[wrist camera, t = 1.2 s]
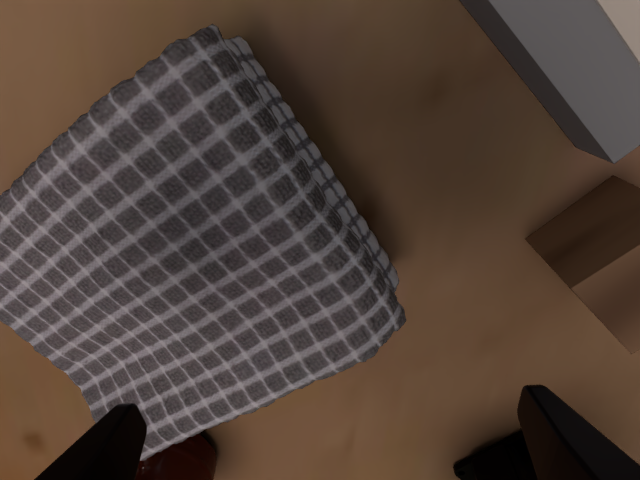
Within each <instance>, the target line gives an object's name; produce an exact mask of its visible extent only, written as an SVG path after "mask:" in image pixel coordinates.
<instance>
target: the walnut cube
mask: <svg viewBox="0 0 640 480" xmlns="http://www.w3.org/2000/svg"><path fill="white" fill-rule="evenodd" d="M525 240H526V241H527V242H528V243H529V244H530V245H531V246H532V247H533V248H534V249H535V251H536V252H537V253H538V254H539V255H540V256H541V257H542V258H543V259H544V260H545V261H546V263H547V264H548V265H549V266H550V267H551V268H552V269H553V270H554V271H555V272H556V273H557V274H558V276H559V277H560V278H561V279H562V280H563V281H564V282H565V283H566V284H567V285H568V286H569V288H570V289H571V290H572V291H573V292H574V293H575V294H576V295H577V296H578V297H579V298H580V299H581V301H582V302H583V303H584V304H585V305H586V306H587V307H588V308H589V309H590V310H591V311H592V312H593V313H594V315H595V316H596V317H597V318H598V319H599V320H600V321H601V322H602V323H603V324H604V325H605V326H606V328H607V329H608V330H609V331H610V332H611V333H612V334H613V335H614V336H615V337H616V338H617V339H618V340H619V342H620V343H621V344H622V345H623V346H624V347H625V348H626V349H627V350H628V351H629V352H630V353H631V354H633V353H635V352H637V351H638V350H640V188H639V187H637V186H634V185H632V184H630V183H628V182H626V181H624V180H622V179H620V178H618V177H615V176H611V177H610V178H609V179H607V180H606V181H605V182H603V183H602V184H600V185H599V186H598V187H596V188H595V189H593V190H592V191H591V192H589V193H588V194H587V195H585V196H584V197H582V198H581V199H580V200H578V201H577V202H575V203H574V204H573V205H571V206H570V207H569V208H567V209H566V210H564V211H563V212H562V213H560V214H559V215H557V216H556V217H555V218H553V219H552V220H550V221H549V222H548V223H546V224H545V225H544V226H542V227H541V228H539V229H538V230H537V231H535V232H534V233H532V234H531V235H530V236H528V237H527V238H526V239H525Z"/></svg>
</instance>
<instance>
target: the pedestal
mask: <svg viewBox="0 0 640 480" xmlns="http://www.w3.org/2000/svg"><path fill="white" fill-rule="evenodd" d="M460 1H461V3H462V4H463V5H464V6H465V8H466V9H467V10H468V12H469V13H470V14H471V15H472V17H473V18H474V19H475V20H476V22H477V23H478V24H479V25H480V27H481V28H482V29H483V30H484V32H485V33H486V34H487V35H488V37H489V38H490V39H491V41H492V42H493V43H494V44H495V46H496V47H497V48H498V49H499V51H500V52H501V53H502V54H503V56H504V57H505V58H506V59H507V61H508V62H509V63H510V65H511V66H512V67H513V68H514V70H515V71H516V72H517V73H518V75H519V76H520V77H521V78H522V80H523V81H524V82H525V83H526V85H527V86H528V87H529V88H530V90H531V91H532V92H533V94H534V95H535V96H536V97H537V99H538V100H539V101H540V102H541V104H542V105H543V106H544V107H545V109H546V110H547V111H548V112H549V114H550V115H551V116H552V118H553V119H554V120H555V121H556V123H557V124H558V125H559V126H560V128H561V129H562V130H563V131H564V133H565V134H566V135H567V136H568V138H569V139H570V140H571V141H572V143H573V144H574V145H575V147H576V148H578V149H581V150H583V151H586V152H588V153H590V154H593V155H595V156H597V157H600V158H602V159H604V160H607V161H609V162H611V163H616V162H617V161H618V160H620V159H621V158H623V157H624V156H625V155H627V154H628V153H629V152H631V151H632V150H634V149H635V148H636V147H638V146H639V145H640V0H460Z"/></svg>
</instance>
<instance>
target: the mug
mask: <svg viewBox="0 0 640 480" xmlns="http://www.w3.org/2000/svg"><path fill="white" fill-rule="evenodd" d="M215 467H216V454H215V451H214V449H213V447H212V446H211V444H210V443H209V442H208V441H207V440H206V438H205V437H204V436H202V435H201V434H200V433H199V434H196V435H195V436H193V437H188V438H187V439H186V440H184V441H183V442H180V443H178V444H172V445H171V446H170V447H168V448H166V449H164V450H163V451H161V452H156V453H155V454H154V455H153V456H151V457H149V458H147V459H146V460H144V461H140V462H139V466H138V469H137V473H136V477H135V480H213V479H214V474H215Z"/></svg>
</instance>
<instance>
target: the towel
mask: <svg viewBox="0 0 640 480" xmlns="http://www.w3.org/2000/svg"><path fill="white" fill-rule="evenodd" d="M398 284H399V278H398V275H397V271H396V269H395V267H394V266H393V265H392V263H391V262H390V261H389V258H388V254H387V253H386V252H385V251H384V249H383V248H382V247H381V246H380V245H379V244H378V241H377V238H376V237H375V235H374V234H373V233H372V231H371V230H369V228H368V226H367V223H366V221H365V219H364V218H363V217H362V216H361V215H359V214H358V213H357V210H356V208H355V206H354V204H353V202H352V201H351V199H350V198H349V197H348V196H347V195H346V191H345V189H344V187H343V185H342V184H341V183H340V181H339V180H338V179H337V178H336V176H335V174H334V172H333V170H332V168H331V167H330V166H329V165H328V163H327V162H326V161H325V160H324V159H323V158H322V156H321V153H320V151H319V149H318V148H317V146H316V145H315V144H314V143H313V142H312V141H311V140H310V139H309V137H308V135H307V134H306V132H305V130H304V128H303V126H301V125H300V124H299V122H298V121H297V120H296V119H295V117H294V114H293V112H292V111H291V108H290V106H289V105H287V104H286V103H285V102H284V101H283V100H282V97H281V94H280V93H279V91H278V90H277V89H276V87H275V85H273V84H272V83H270V81H269V79H268V78H267V75H266V73H265V71H264V69H263V67H262V66H261V65H260V64H259V63H258V61H257V60H256V59H255V58H254V56H253V53H252V50H251V48H250V47H249V45H248V43H247V42H246V41H245V40H243V39H242V37H240V36H236V37H235V38H232V39H223V38H222V35H221V33H220V31H219V28H218V27H217V26H215V25H214V24H211V25H210V26H208V27H207V28H203V29H200V30H199V31H197V32H196V33H195V34H193V35H191V36H190V37H189V38H187V39H178V40H176V41H175V42H174V43H171V44H169V45H168V46H167V47H166V49H165V50H164V51H163V52H162V54H161V56H160V57H158V58H157V59H155V60H152V61H149V62H147V64H146V65H145V66H144V67H142V68H141V69H140V70H138V71H137V72H136V75H135V77H133V78H131V79H128V80H123V81H121V82H120V83H119V84H118V85H116V86H115V87H113V88H111V90H110V93H109V94H108V95H106V96H103V97H102V98H101V99H100V100H98V101H97V102H95V103H94V104H93V105H92V106H91V108H90V110H89V112H88V113H86V114H83V115H81V116H80V117H79V118H78V119H77V121H76V122H74V124H73V125H72V126H71V127H69V128H68V131H67V132H65V133H62V134H61V135H59V136H58V138H56V139H55V140H54V141H53V143H52V145H50V146H49V147H47V148H46V149H45V150H44V151H43V152H42V153H41V154H40V155H39V156H38V158H37V160H36V161H35V162H33V163H31V164H30V166H29V167H28V168H26V169H25V171H24V174H23V175H22V176H21V177H19V178H18V179H16V180H15V181H14V182H13V184H12V186H11V188H10V189H8V190H6V191H5V192H3V193H2V195H0V321H1V322H3V323H4V324H6V325H8V326H10V327H11V328H13V329H14V331H15V332H16V334H18V335H19V336H20V337H21V338H22V339H24V340H25V341H27V342H29V343H31V344H32V346H33V347H34V349H35V351H37V352H39V353H40V354H41V355H42V356H44V357H47V358H49V359H50V360H51V362H52V364H53V365H55V366H56V367H57V368H59V369H61V370H63V371H64V372H66V373H67V374H68V376H69V378H70V379H71V380H72V381H73V382H74V384H75V385H77V386H79V387H80V389H81V391H82V395H83V397H84V398H85V400H86V402H87V403H88V405H89V407H90V410H91V414H92V417H93V419H94V420H95V422H96V423H97V422H98V421H99V420H100V419H101V418H102V417H103V416H104V415H105V414H107V413H108V412H109V411H110V410H111V409H112V408H113V407H114V406H116V405H118V404H122V403H134V404H136V405H137V406H138V408H139V410H140V412H141V414H142V416H143V418H144V420H145V422H146V425H147V434H146V438H145V442H144V446H143V450H142V454H141V458H140V461H144V460H146V459H147V458H149V457H151V456H153V455H154V454H155V453H156V452H161V451H163V450H164V449H166V448H168V447H170V446H171V445H172V444H178V443H180V442H183V441H184V440H186V439H187V438H188V437H193V436H195V435H196V434H199V433H200V432H202V431H203V430H204V429H209V428H212V427H214V426H217V425H219V424H221V423H222V422H228V421H230V420H232V419H236V418H237V417H238V416H239V415H244V414H249V413H253V412H255V411H256V410H258V409H259V408H260V407H267V406H268V405H270V404H271V403H274V401H275V400H276V399H277V398H281V397H284V396H286V395H287V394H289V393H291V392H292V391H294V390H295V389H302V388H304V387H305V386H308V385H309V384H311V383H313V382H314V381H315V380H321V379H325V378H328V377H331V376H333V375H335V374H336V373H338V372H341V371H344V370H346V369H348V368H350V367H352V366H354V365H355V364H356V363H358V362H365V361H366V360H367V359H369V358H371V357H373V356H375V354H376V353H377V351H378V348H379V347H380V346H382V345H383V344H384V343H386V342H387V340H388V339H389V338H390V337H391V335H392V333H393V332H394V331H398V330H399V329H400V328H401V326H402V325H404V323H405V322H406V317H405V312H404V309H403V307H402V306H401V305H400V304H399V302H398V301H397V297H396V295H395V293H394V292H395V291H396V288H397V285H398Z"/></svg>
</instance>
